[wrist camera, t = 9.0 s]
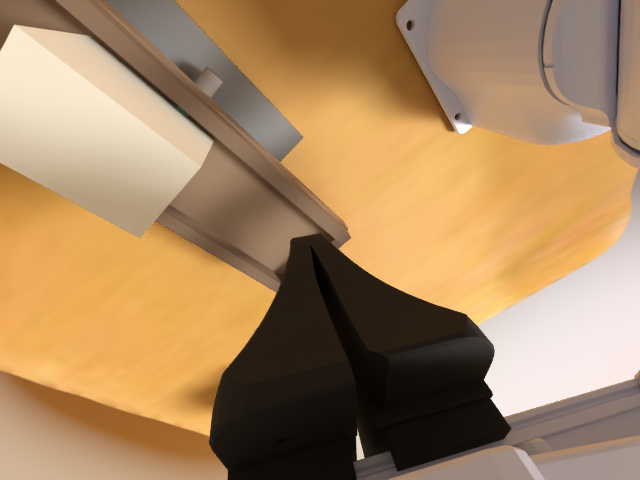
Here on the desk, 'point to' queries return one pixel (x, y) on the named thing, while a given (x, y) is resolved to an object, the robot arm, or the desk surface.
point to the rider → (93, 128)
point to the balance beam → (213, 118)
